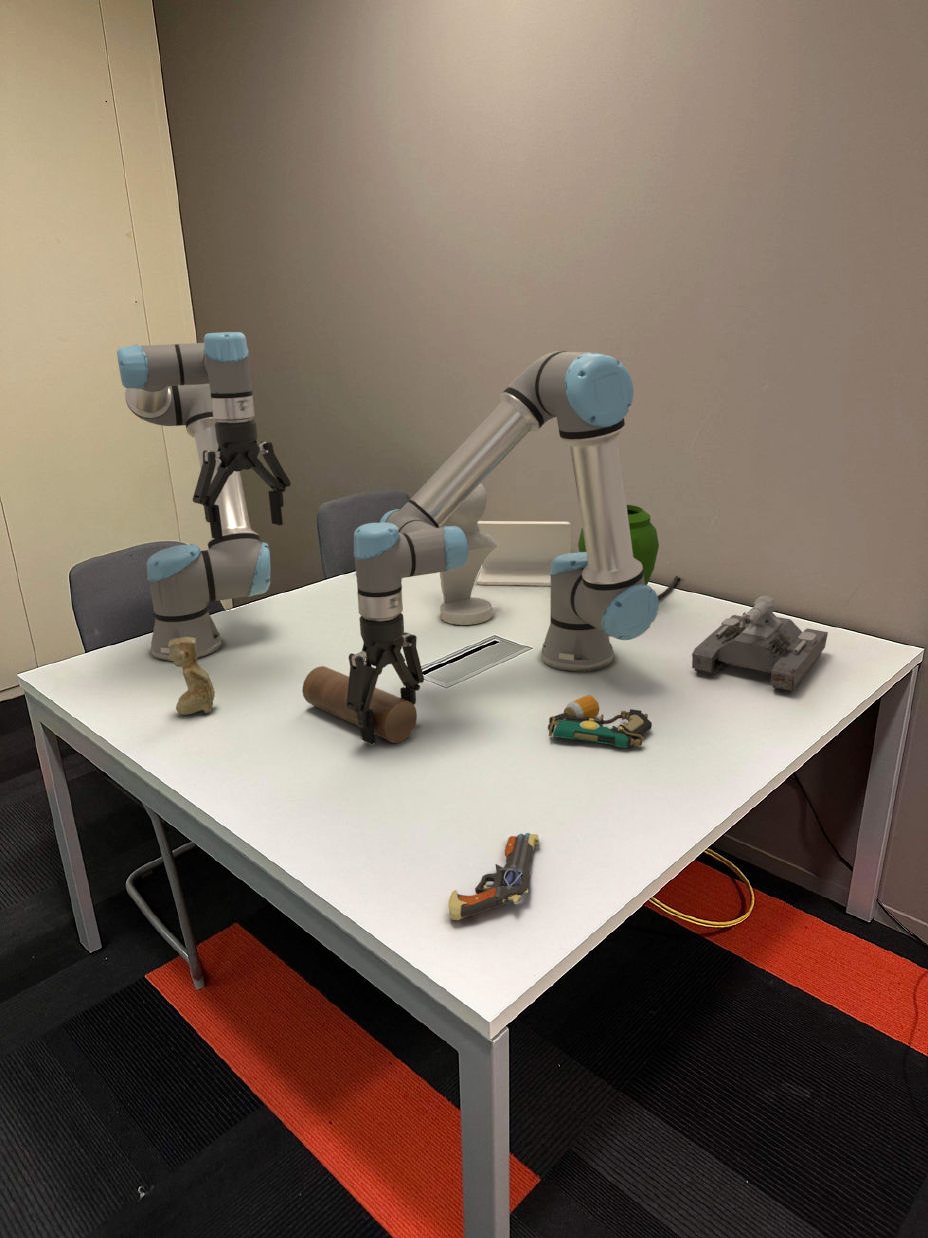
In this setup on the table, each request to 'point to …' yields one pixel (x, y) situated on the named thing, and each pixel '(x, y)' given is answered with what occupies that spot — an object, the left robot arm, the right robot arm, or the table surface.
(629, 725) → the spray gun
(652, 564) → the vase
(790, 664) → the toy
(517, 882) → the toy gun
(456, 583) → the bust sculpture
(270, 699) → the table surface
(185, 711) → the sculpture
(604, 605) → the right robot arm
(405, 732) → the rod
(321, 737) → the table surface
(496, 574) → the tablet stand
